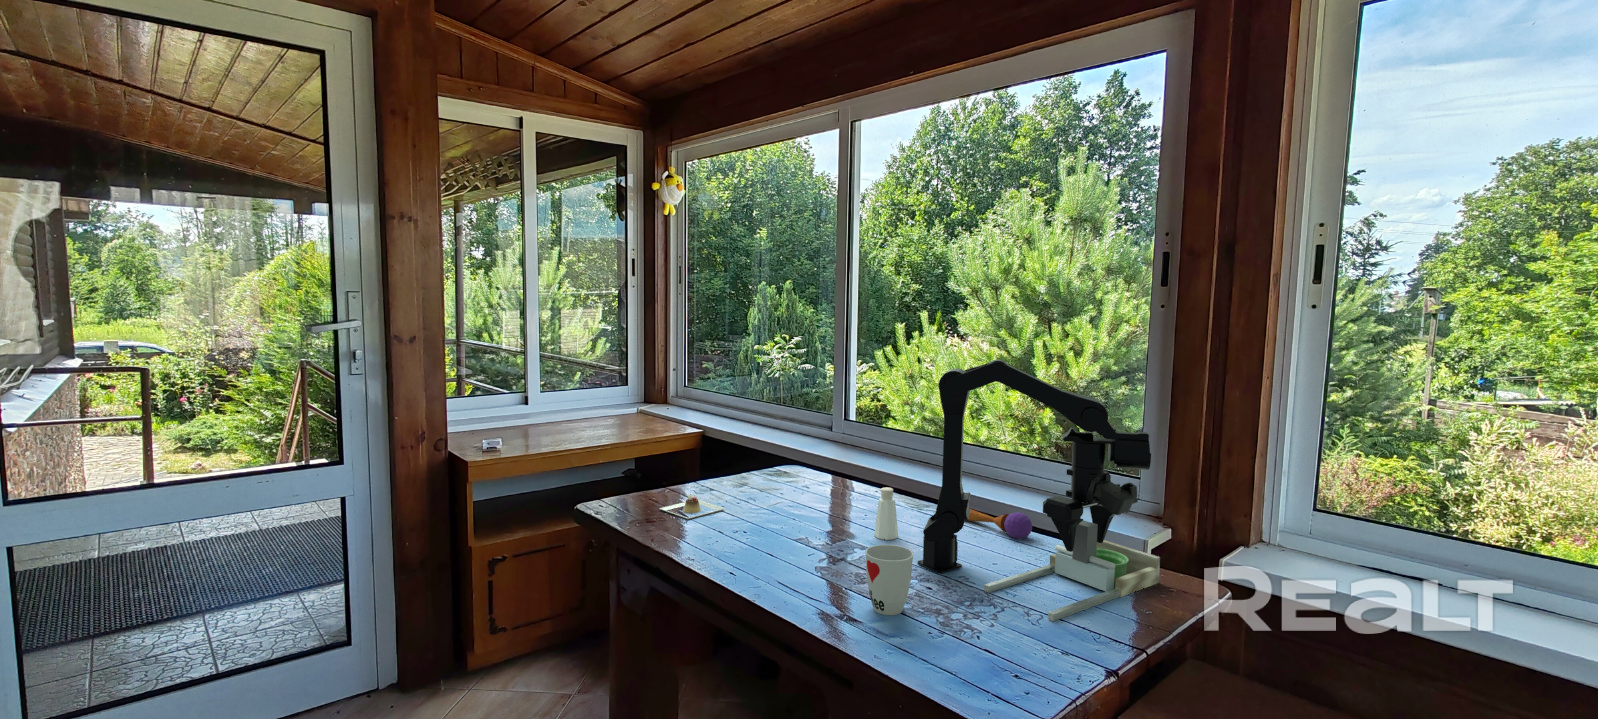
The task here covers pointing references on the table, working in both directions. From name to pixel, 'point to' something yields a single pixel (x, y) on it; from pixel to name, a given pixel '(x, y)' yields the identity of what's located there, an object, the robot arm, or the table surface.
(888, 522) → the pepper shaker
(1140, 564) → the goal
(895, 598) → the cup
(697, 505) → the dessert
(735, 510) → the table surface
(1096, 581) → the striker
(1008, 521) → the maraca
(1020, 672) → the table surface
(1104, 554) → the ramekin
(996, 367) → the robot arm
